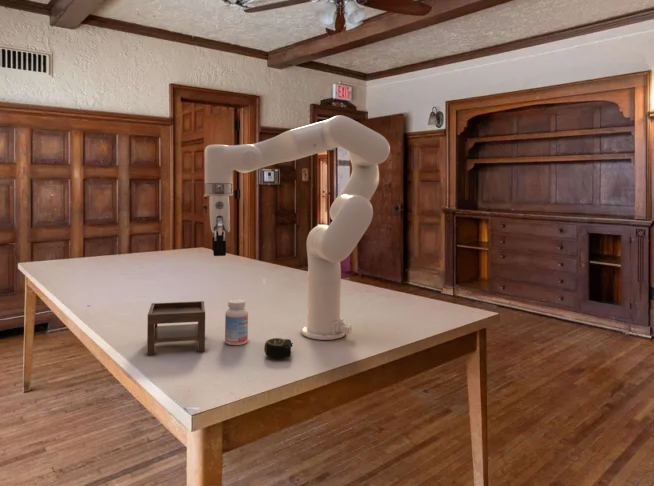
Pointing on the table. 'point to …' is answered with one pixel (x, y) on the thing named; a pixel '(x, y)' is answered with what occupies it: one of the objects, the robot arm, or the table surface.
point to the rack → (176, 314)
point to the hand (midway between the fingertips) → (218, 253)
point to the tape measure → (278, 348)
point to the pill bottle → (236, 323)
